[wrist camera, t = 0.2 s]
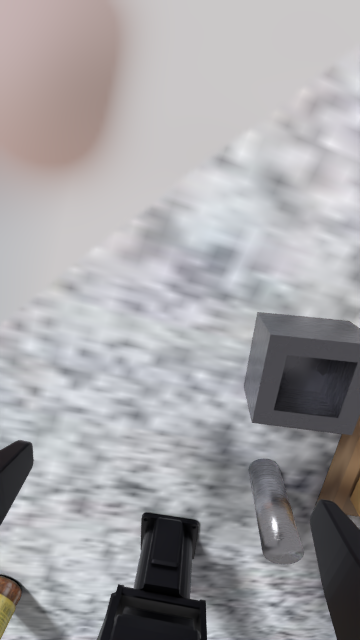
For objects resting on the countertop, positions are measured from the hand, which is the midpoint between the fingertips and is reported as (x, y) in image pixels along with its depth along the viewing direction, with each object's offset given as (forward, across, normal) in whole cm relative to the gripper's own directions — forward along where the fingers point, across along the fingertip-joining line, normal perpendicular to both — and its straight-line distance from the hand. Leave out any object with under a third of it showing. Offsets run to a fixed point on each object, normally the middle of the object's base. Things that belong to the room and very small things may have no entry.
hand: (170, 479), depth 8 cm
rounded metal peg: (+14, -10, +14) cm, 23 cm away
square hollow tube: (+14, -9, +2) cm, 17 cm away
